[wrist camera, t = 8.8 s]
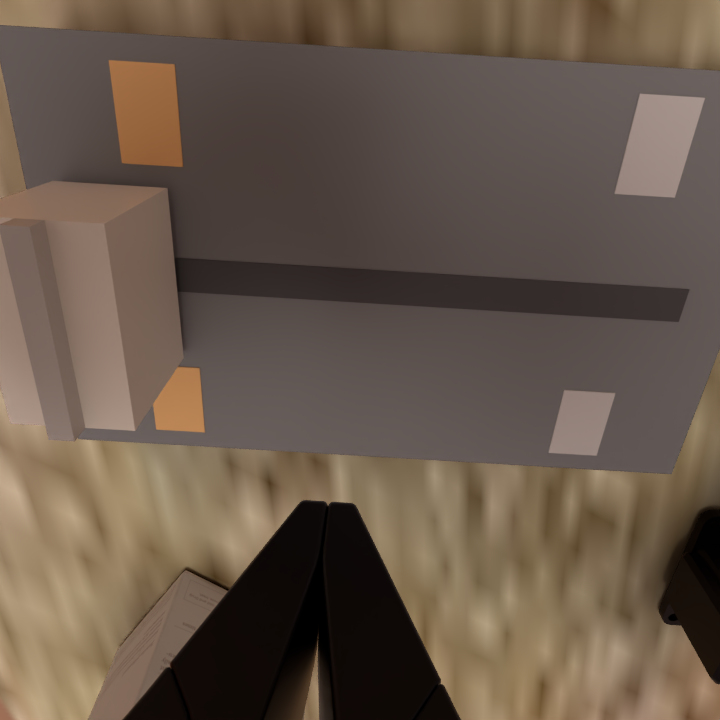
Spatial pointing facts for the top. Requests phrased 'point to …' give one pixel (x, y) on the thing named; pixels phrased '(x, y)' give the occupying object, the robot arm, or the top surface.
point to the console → (404, 240)
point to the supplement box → (155, 644)
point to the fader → (86, 305)
